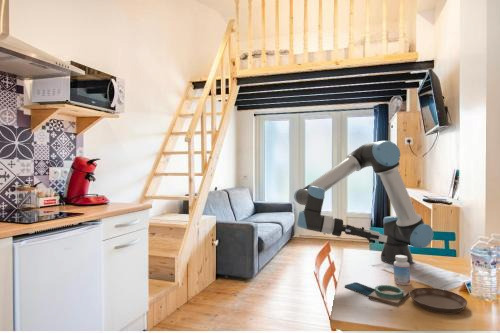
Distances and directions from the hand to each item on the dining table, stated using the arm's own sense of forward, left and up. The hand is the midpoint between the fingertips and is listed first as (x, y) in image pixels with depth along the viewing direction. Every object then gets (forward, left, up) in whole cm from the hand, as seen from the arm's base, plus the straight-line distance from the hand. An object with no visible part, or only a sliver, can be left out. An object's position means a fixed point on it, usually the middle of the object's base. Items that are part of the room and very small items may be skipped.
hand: (382, 237), depth 137 cm
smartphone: (+15, -2, -20) cm, 25 cm away
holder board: (+15, +7, -19) cm, 25 cm away
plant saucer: (+11, +23, -19) cm, 32 cm away
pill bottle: (-3, +6, -19) cm, 21 cm away
